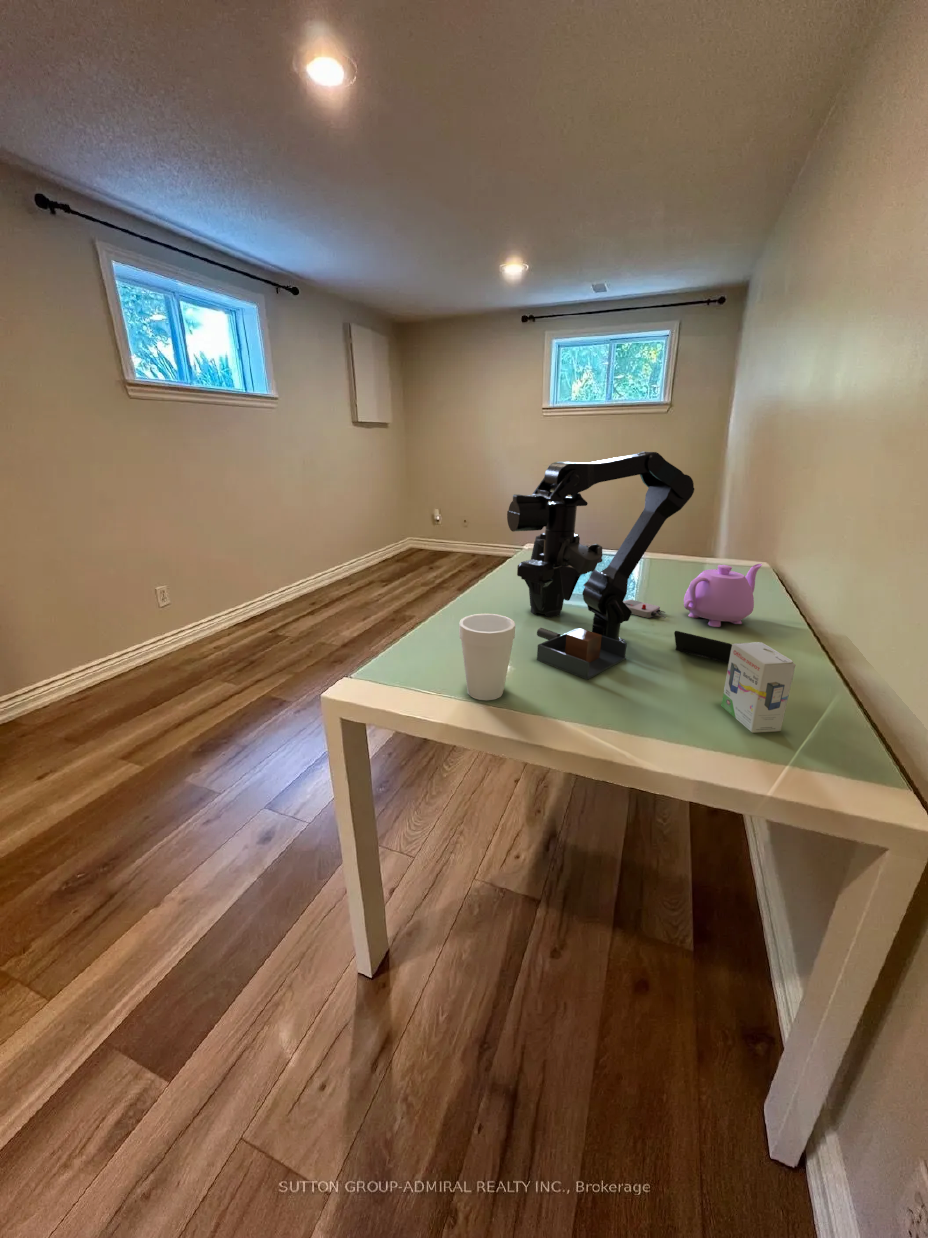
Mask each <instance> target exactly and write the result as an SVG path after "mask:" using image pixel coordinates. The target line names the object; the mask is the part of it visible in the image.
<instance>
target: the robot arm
mask: <svg viewBox="0 0 928 1238" xmlns="http://www.w3.org/2000/svg"><path fill="white" fill-rule="evenodd" d="M543 476H544V477H543V479H542V480H541V481H540V483H539V484H538V485H537V486H536V488H535V490H534V491H533V492H532V494H525V495H524V494H513V495H512V501H511V502H510V504H509V506H508V510H507V511H506V512H507V513H506V520H507V525H508V528H509V530H510V531H511V532H531V531H532V532H533V531H542V530H543V529H544V532H543V533H540V534H539V535H540V539H543V540H545V541H544V553H543V554H539V559H540V560H544V562H543V561H538V560H533V559H531V558H530V559H528V560H523V561H521V562H520V563H518V565H517V567H516V569H517V571H516V576H517V577H520V579H521V580H524V582H525V584H526V586H527V588H528V590H529V589H530V592H531V594H532V596H533V598H534V601H535V603H536V606H537V608H538V609H539V610H543V608H544V604H545V598H546V592H547V586H548V585H549V584H550V583H551V582H552V581H553V579H551V578H552V576H553V574H554V570H555V569H559V568H560V575H561V582H562V589H563V595H564V601H567V602H568V601H570V600H571V598H572V595H573V593H574V590H575V589H576V586H577V584H578V581H579V580H580V577H581V576H582V575H586V574H588V573H590V572H591V573H590V575H589V578H588V579H587V580H586V582H585V583H583V587H584V588H583V590H582V599H583V601H584V603H585V604H586V606H587V610H588V611H589V612H591V613H593V619H592V620H593V621H592V626H591V632H594V633H597V634H600V635H602V636H606V637H609V638H612V639H615V640H618V641H622V642H625V643H626V639H625V638H621V637H620V633H621V632H620V631H621V624H623V623H624V622H628V621H630V618H631V616H632V615H633V614H632V611H631V610H630V609H629V608H628V607H627V606H626V604H625V603H624V602H623V601H625V598H626V596H627V595H628V583H629V582H628V581H629V578H630V576H631V575H632V574H633V572H634V571H635V568H636V567H637V566H638V564H639V563H640V561H641V559H642V558H643V556H644V555H645V553H646V552H647V550H648V548H649V547H650V545H651V544H652V542H653V541H654V539H655V537H656V536H657V535H658V533H659V532H660V530H661V528H662V527H663V525H664V524H665V522H666V521H667V520H668V519H669V518H670V517H672V516H674V515H676V514H677V513H678V512H679V511H681V510H682V509H683V508H684V506H685V505H686V504H687V503H688V502H689V500H690V499H692V497H693V495H694V493H695V487H694V485H695V484H694V480H693V478H692V477H691V476H690V475H689V474H686V473H684V472H683V471H682V470H681V469H679V468H678V467H676V466H675V465H674V464H673V463H670V462H669V461H668V460H666V459H665V458H664V457H663V456H662V455H661V454H660V453H659V452H657V451H640V452H637V453H633V454H628V455H622V456H618V457H617V456H616V457H612V458H607V459H601V460H596V461H590V462H577V461H554V462H552V463H550V464H549V465H548V467H547V468H546V470H545V473H544V475H543ZM635 476H640V480H641V481H642V483H643V484H644V485H645V486H646V487H647V488H648V489H647V490H646V493H645V499H644V508H643V510H642V512H640V513H641V514H640V515H639V516H638V518H637V520H636V521H635V523H634V525H633V526H632V528H631V529H630V531H629V532H628V534H627V535H626V536H625V539H624V540H623V542H622V543H621V545H620V546H619V548H618V550H617V551H616V553H615V554H614V556H613V558H612V559H611V561H610V562H609V564H608V565H607V567H605V568H604V569H602V570H601V571H599V570H596V568H597V566H598V564H600V563H602V562H603V546H601V544H598V543H594V544H591V545H589V546H588V545H582V544H581V543H580V540H581V539H580V536H579V534H575V532H576V521H577V520H576V519H577V511H578V510H577V507H586V506H588V504H589V503H588V502H587V500H586V499H584V497H582V494H581V492H585V491H587V490H589V489H590V488H592V487H593V486H595V485H597V484H600V483H603V482H604V483H605V482H609V481H614V480H618V479H624V478H628V477H635ZM553 564H554V565H553Z"/></svg>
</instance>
